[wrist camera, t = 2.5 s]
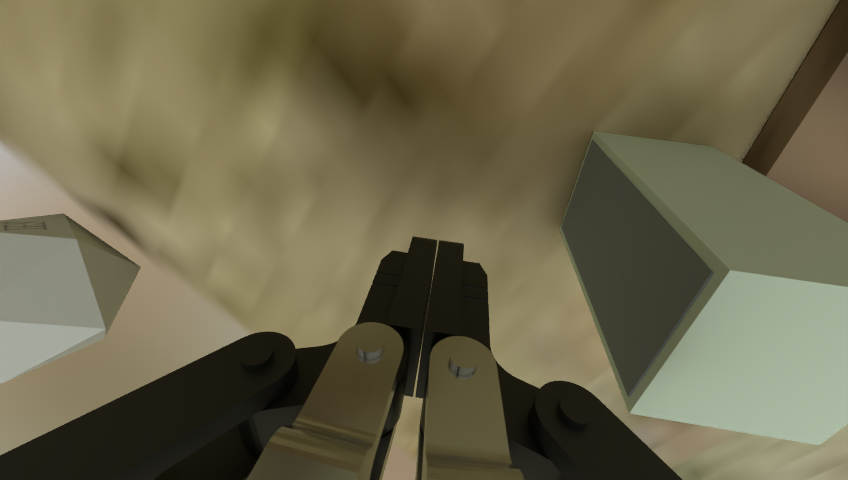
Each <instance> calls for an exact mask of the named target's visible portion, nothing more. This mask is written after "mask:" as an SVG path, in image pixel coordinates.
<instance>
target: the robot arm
mask: <svg viewBox="0 0 848 480" xmlns="http://www.w3.org/2000/svg"><path fill="white" fill-rule="evenodd" d="M436 247H437V240H434V239H427V238H420V237H413V238H412V241H411V244H410V248H409V251H408V253H405V252H399V251H391V252H390V253H389V254H388V255H387V256H385V257H384V258H383V259H382V260H381V262H380V265H379V267H378V270H377V274H376V275H375V278H374V280H373V284H372V285H371V288H370V290H369V293H368V295H367V298H366V300H365V303H364V306H363V308H362V311H361V313H360V316H359V318H358V321H357V323H356V325H355V326H353V327H351V328H349V329H348V330H347V331H345V332H344V333H343V334H342V336H341V337H340V339H339V340H338V341H337V342H334V343H332V344H328V345H324V346H318V347H308V348H299V349H295V346H294V344H293V342H292V341H291V340H290V339H289V338H288V337H287V336H285V335H283V334H280V333H276V332H259V333H254V334H251V335H248V336H246V337H244V338H241V339H240V340H237V341H235V342H233V343H231V344H229V345H227V346H225V347H223V348H221V349H219V350H217V351H215V352H213V353H210V354H208V355H206V356H204V357H202V358H200V359H198V360H196V361H194V362H192V363H190V364H188V365H186V366H184V367H182V368H180V369H177V370H175V371H173V372H171V373H169V374H167V375H165V376H163V377H161V378H159V379H157V380H155V381H153V382H151V383H149V384H147V385H145V386H142V387H140V388H139V389H136V390H134V391H132V392H130V393H128V394H126V395H124V396H122V397H120V398H118V399H116V400H114V401H112V402H110V403H107V404H105V405H103V406H101V407H100V408H97V409H95V410H93V411H91V412H89V413H87V414H85V415H83V416H81V417H79V418H77V419H75V420H72V421H70V422H68V423H66V424H64V425H62V426H60V427H58V428H56V429H54V430H52V431H50V432H48V433H46V434H44V435H42V436H39V437H37V438H35V439H33V440H31V441H29V442H27V443H25V444H23V445H21V446H19V447H17V448H15V449H13V450H11V451H9V452H6V453H5V454H2V455H0V480H382V477H383V474H384V470H385V466H386V462H387V459H388V456H389V452H390V448H391V445H392V441H393V438H394V434H395V430H396V426H397V422H398V420H399V417H400V414H401V408H402V403H403V398H404V395H405V396H411V397H413V392H414V386H415V380H416V374H417V368H418V362H419V357H420V351H421V345H422V351H421V358H420V366H419V374H418V381H417V389H416V397H418V398H423V404H422V411H421V419H420V425H419V432H418V446H417V462H416V477H415V478H416V479H415V480H682V479H681V478H680V477H679V476H678V475H677V474H676V473H675V472H674V471H673V470H672V469H671V468H670V467H669V466H668V465H667V464H666V463H665V462H663V461H662V460H661V459H660V458H659V457H658V456H657V455H656V454H655V453H654V452H653V451H652V450H651V449H650V448H649V447H648V446H647V445H646V444H645V443H644V442H643V441H642V440H640V439H639V438H638V437H637V436H636V435H635V434H634V433H633V432H632V431H631V430H630V429H629V428H628V427H627V426H626V425H625V424H624V423H623V422H622V421H621V420H620V419H619V418H618V417H616V416H615V415H614V414H613V413H612V412H611V411H610V410H609V409H608V408H607V407H606V406H605V405H604V404H603V403H602V402H601V401H600V400H599V399H598V398H597V397H595V396H594V395H593V394H592V393H591V392H589V391H588V390H586V389H585V388H583V387H581V386H579V385H576V384H574V383H571V382H567V381H553V382H549V383H547V384H545V385H543V386H542V387H541V388H540V389H539V388H537V387H535V386H533V385H530V384H528V383H526V382H524V381H522V380H520V379H518V378H516V377H514V376H512V375H511V374H509V373H508V372H506V371H505V370H504V369H503V368H502V367H501V366H500V365H499V364H498V363H497V361H496V360H495V358H494V356H493V354H492V352H491V348H490V334H489V308H488V291H487V290H488V282H487V274H486V273H485V271H484V270H483V268H482V267H481V265H480V263H473V262H467V261H463V251H464V244H462V243H455V242H448V241H441V240H439V245H438V251H437V257H436V263H435V269H434V262H435V254H436ZM433 269H434V275H433ZM432 277H433V281H432ZM431 284H432V287H431ZM430 291H431V293H430ZM429 297H430V299H429ZM428 304H429V305H428ZM427 309H428V311H427ZM426 315H427V316H426ZM425 321H426V322H425ZM424 327H425V328H424ZM423 333H424V335H423ZM422 339H423V343H422Z"/></svg>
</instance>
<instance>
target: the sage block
mask: <svg viewBox="0 0 848 480" xmlns="http://www.w3.org/2000/svg"><path fill="white" fill-rule="evenodd" d="M559 230H560V233H561V235H562V238H563V241H564V243H565V246H566V249H567V251H568V254H569V256H570V259H571V262H572V264H573V267H574V270H575V272H576V275H577V277H578V280H579V283H580V285H581V288H582V291H583V293H584V296H585V298H586V301H587V304H588V306H589V309H590V312H591V314H592V317H593V320H594V322H595V325H596V327H597V330H598V333H599V335H600V338H601V341H602V343H603V346H604V348H605V351H606V354H607V356H608V359H609V362H610V364H611V367H612V370H613V372H614V375H615V377H616V380H617V383H618V385H619V388H620V391H621V393H622V396H623V398H624V401H625V404H626V406H627V409H628V412H629V413H630V414H636V415H642V416H648V417H654V418H660V419H666V420H672V421H678V422H684V423H690V424H696V425H702V426H708V427H714V428H720V429H726V430H732V431H738V432H744V433H750V434H756V435H761V436H767V437H773V438H779V439H785V440H791V441H797V442H803V443H809V444H815V445H820V444H822V443H823V442H824V441H826V440H827V439H828V438H830V437H831V436H832V435H834V434H835V433H836V432H838V431H839V430H840V429H842V428H843V427H844V426H846V425H847V424H848V223H847V222H845V221H844V220H842V219H840V218H838V217H836V216H835V215H833V214H831V213H829V212H828V211H826V210H824V209H822V208H821V207H819V206H817V205H815V204H813V203H812V202H810V201H808V200H806V199H805V198H803V197H801V196H799V195H798V194H796V193H794V192H792V191H790V190H789V189H787V188H785V187H783V186H782V185H780V184H778V183H776V182H775V181H773V180H771V179H769V178H768V177H766V176H764V175H762V174H760V173H759V172H757V171H755V170H753V169H752V168H750V167H748V166H746V165H745V164H743V163H741V162H739V161H737V160H736V159H734V158H732V157H730V156H729V155H727V154H725V153H723V152H722V151H720V150H718V149H716V148H714V147H713V146H706V145H698V144H690V143H682V142H674V141H666V140H658V139H650V138H642V137H634V136H626V135H618V134H611V133H603V132H595V131H593V134H592V137H591V140H590V143H589V146H588V148H587V151H586V154H585V157H584V160H583V163H582V166H581V169H580V171H579V174H578V177H577V180H576V183H575V186H574V189H573V191H572V194H571V197H570V200H569V203H568V206H567V209H566V211H565V214H564V217H563V220H562V223H561V226H560V229H559Z"/></svg>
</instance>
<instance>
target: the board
mask: <svg viewBox="0 0 848 480" xmlns="http://www.w3.org/2000/svg"><path fill="white" fill-rule="evenodd" d="M743 164H745V165H746V166H748V167H750V168H752V169H753V170H755V171H757V172H759V173H760V174H762V175H764V176H766V177H768V178H769V179H771V180H773V181H775V182H776V183H778V184H780V185H782V186H783V187H785V188H787V189H789V190H790V191H792V192H794V193H796V194H798V195H799V196H801V197H803V198H805V199H806V200H808V201H810V202H812V203H813V204H815V205H817V206H819V207H821V208H822V209H824V210H826V211H828V212H829V213H831V214H833V215H835V216H836V217H838V218H840V219H842V220H844V221H845V222H847V223H848V0H841V1H840V3H839V4H838V6H837V8H836V9H835V11H834V13H833V14H832V16H831V18H830V19H829V21H828V23H827V24H826V26H825V27H824V29H823V31H822V32H821V34H820V36H819V37H818V39H817V41H816V42H815V44H814V46H813V47H812V49H811V51H810V52H809V54H808V56H807V57H806V59H805V61H804V62H803V64H802V65H801V67H800V69H799V70H798V72H797V74H796V75H795V77H794V79H793V80H792V82H791V84H790V85H789V87H788V89H787V90H786V92H785V94H784V95H783V97H782V98H781V100H780V102H779V103H778V105H777V107H776V108H775V110H774V112H773V113H772V115H771V117H770V118H769V120H768V122H767V123H766V125H765V127H764V128H763V130H762V132H761V133H760V135H759V136H758V138H757V140H756V141H755V143H754V145H753V146H752V148H751V150H750V151H749V153H748V155H747V156H746V158H745V160H744V161H743Z"/></svg>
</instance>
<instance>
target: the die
mask: <svg viewBox="0 0 848 480" xmlns="http://www.w3.org/2000/svg"><path fill="white" fill-rule="evenodd" d="M139 269H140V266H138V265H137V264H135V263H134V262H133V261H131V260H129V259H128V258H127V257H125V256H124V255H122V254H121V253H120V252H118V251H117V250H115V249H114V248H112V247H111V246H109V245H108V244H107V243H105V242H104V241H102V240H101V239H99V238H98V237H96V236H95V235H93V234H92V233H90V232H89V231H88V230H86V229H85V228H84V227H82V226H81V225H79V224H78V223H76V222H75V221H73V220H72V219H71V218H69V217H68V216H66V215H65V214H57V215H48V216H39V217H30V218H20V219H11V220H2V221H0V383H1V384H2V383H4V382H6V381H9V380H11V379H13V378H15V377H18V376H20V375H22V374H25V373H27V372H29V371H31V370H34V369H36V368H38V367H40V366H43V365H45V364H47V363H49V362H52V361H54V360H56V359H58V358H61V357H63V356H65V355H68V354H70V353H72V352H74V351H77V350H79V349H81V348H83V347H85V346H88V345H90V344H92V343H95V342H97V341H99V340H102V339H104V338H105V336H106V335H107V333H108V331H109V329H110V327H111V325H112V323H113V321H114V319H115V317H116V315H117V313H118V311H119V309H120V307H121V305H122V303H123V301H124V299H125V297H126V295H127V293H128V291H129V289H130V287H131V285H132V283H133V281H134V279H135V277H136V275H137V273H138V271H139Z"/></svg>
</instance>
